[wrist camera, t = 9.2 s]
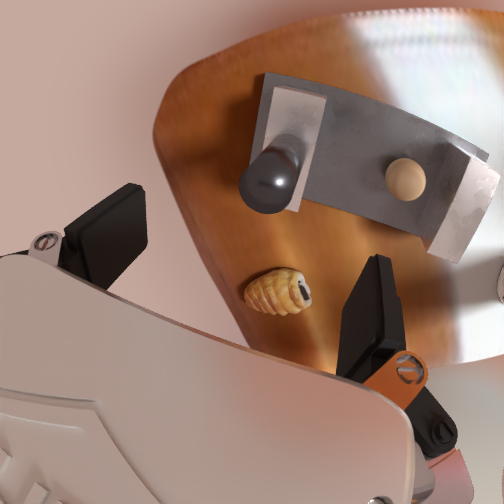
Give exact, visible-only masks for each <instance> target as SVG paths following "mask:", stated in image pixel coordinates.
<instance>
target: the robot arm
mask: <svg viewBox="0 0 504 504" xmlns="http://www.w3.org/2000/svg"><path fill="white" fill-rule="evenodd" d="M64 232H65V236H64V237H63V238H62V235H61V234H60V233H59V232H56V231H48V232H44V233H42V234H40V235H38V236H37V237H36V238H35V239H34V240H33V241H32V243H31V246H30V249H29V250H25V251H21V252H17V253H12V254H8V255H4V256H0V504H471V502H472V500H473V497H474V488H473V484H472V481H471V479H470V475H469V473H468V470H467V467H466V465H465V462H464V459H463V456H462V454H461V451H460V449H458V450H456V449H455V444H456V442H457V437H458V435H457V428H456V425H455V423H454V421H453V420H452V419H451V417H449V415H448V414H447V412H446V411H445V410H444V409H443V408H442V406H441V405H440V404H439V403H438V401H437V400H436V399H435V398H434V396H433V395H432V394H431V393H430V392H429V390H428V389H427V388H426V387H425V386H424V385H425V384H426V382H427V380H428V370H427V367H426V365H425V362H424V361H423V360H422V359H421V357H419V356H418V355H417V354H415V353H413V352H411V351H406V341H405V331H404V322H403V314H402V307H401V300H400V298H399V297H398V296H397V295H396V288H395V282H394V276H393V270H392V264H391V259H390V258H388V257H385V256H382V255H379V254H376V255H375V256H374V257H373V256H370V257H369V259H368V261H367V263H366V265H365V267H364V269H363V271H362V273H361V275H360V277H359V279H358V281H357V283H356V284H355V286H354V288H353V290H352V292H351V294H350V296H349V298H348V300H347V301H346V303H345V305H344V308H343V311H342V321H341V332H340V342H339V352H338V360H337V368H336V375H334V374H331V373H327V372H324V371H321V370H317V369H314V368H310V367H307V366H303V365H300V364H297V363H294V362H290V361H287V360H284V359H281V358H278V357H275V356H271V355H268V354H265V353H262V352H259V351H256V350H253V349H250V348H247V347H243V346H241V345H238V344H235V343H232V342H230V341H227V340H224V339H221V338H219V337H216V336H213V335H210V334H208V333H205V332H202V331H200V330H197V329H195V328H192V327H189V326H187V325H184V324H182V323H179V322H177V321H174V320H172V319H169V318H167V317H165V316H162V315H160V314H158V313H155V312H153V311H151V310H148V309H146V308H143V307H141V306H139V305H137V304H134V303H132V302H130V301H128V300H125V299H123V298H121V297H119V296H117V295H115V294H112V293H110V292H108V291H106V290H107V289H108V288H109V287H110V286H111V285H112V284H113V283H114V281H115V280H116V279H117V278H118V277H119V276H120V275H121V274H122V273H123V272H124V270H126V268H127V267H128V266H129V265H130V264H131V263H132V262H133V261H134V260H135V259H136V258H137V257H138V256H139V255H140V254H141V253H142V252H143V251H144V250H145V248H146V247H147V243H148V240H147V239H148V238H147V222H146V202H145V191H144V190H143V188H142V186H141V185H137V184H132V183H128V184H126V185H124V186H123V187H121V188H120V189H118V190H117V191H115V192H114V193H112V194H111V195H109V196H108V197H106V198H105V199H104V200H102V201H101V202H99V203H98V204H96V205H95V206H94V207H92V208H91V209H89V210H88V211H87V212H85V213H84V214H82V215H81V216H80V217H78V218H77V219H76V220H74V221H73V222H72V223H70V224H69V225H68V226H67V227H65V228H64ZM497 290H498V295H499V297H500V299H501V301H502V303H503V304H504V266H503V268H502V270H501V273H500V276H499V280H498V288H497ZM502 496H503V504H504V469H503V475H502Z"/></svg>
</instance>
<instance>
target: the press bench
mask: <svg viewBox="0 0 504 504" xmlns="http://www.w3.org/2000/svg"><path fill="white" fill-rule="evenodd" d="M278 86H289V87H293V88H298V89H302V90H307V91H311V92H315V93H319V94H322V95H326V96H327V100H326V104H325V108H324V113H323V117H322V121H321V125H320V129H319V133H318V137H317V141H316V145H315V149H314V153H313V157H312V161H311V165H310V168H309V172H308V176H307V180H306V184H305V187H304V191H303V195H302V198H304V199H307V200H311V201H314V202H318V203H321V204H324V205H328V206H331V207H334V208H337V209H341V210H344V211H347V212H350V213H353V214H356V215H359V216H362V217H365V218H369V219H372V220H374V221H377V222H380V223H383V224H386V225H389V226H392V227H395V228H398V229H400V230H403V231H406V232H409V233H411V234H414V235H417V236H420V237H421V239H422V242H423V244H424V247H425V249H426V252H427V253H430V254H432V255H435V256H438V257H440V258H443V259H446V260H448V261H451V262H454V263H456V264H457V263H458V261H459V260H460V258H461V256H462V255H463V253H464V251H465V250H466V248H467V246H468V244H469V243H470V241H471V239H472V237H473V235H474V234H475V232H476V230H477V228H478V226H479V224H480V222H481V220H482V218H483V216H484V214H485V212H486V210H487V208H488V206H489V204H490V202H491V200H492V197H493V195H494V193H495V191H496V188H497V186H498V184H499V181H500V179H501V175H500V174H499V173H498V172H496V171H495V170H494V169H492V168H491V167H490V166H489V165H487V164H486V161H487V159H488V156H489V154H488V153H486V152H485V151H483V150H481V149H480V148H478V147H476V146H475V145H473V144H471V143H469V142H468V141H466V140H464V139H462V138H460V137H458V136H457V135H455V134H453V133H451V132H449V131H447V130H445V129H443V128H441V127H439V126H437V125H435V124H433V123H431V122H428V121H426V120H424V119H422V118H420V117H417V116H415V115H413V114H410V113H408V112H406V111H403V110H401V109H398V108H396V107H393V106H390V105H388V104H385V103H382V102H380V101H377V100H374V99H371V98H368V97H365V96H362V95H359V94H356V93H353V92H350V91H347V90H343V89H340V88H336V87H333V86H329V85H325V84H322V83H318V82H314V81H309V80H305V79H301V78H296V77H292V76H287V75H282V74H276V73H271V72H266V73H265V78H264V83H263V89H262V95H261V100H260V106H259V111H258V117H257V123H256V129H255V134H254V140H253V146H252V152H251V158H250V164H251V163H252V162H253V161H254V160H255V159H256V158H257V157H258V156H259V154H260V153H261V152H262V150H263V144H264V139H265V134H266V128H267V123H268V118H269V112H270V107H271V102H272V96H273V91H274V87H278ZM401 158H408V159H411V160H413V161H415V162H417V163H418V164H419V165H420V166H421V168H422V169H423V171H424V174H425V178H426V185H425V188H424V191H423V192H422V194H421V195H420V196H419V197H418V198H416V199H414V200H411V201H402V200H399V199H397V198H396V197H394V196H393V195H392V194H391V193H390V191H389V190H388V188H387V185H386V181H385V175H386V171H387V169H388V167H389V165H390V164H391V163H392V162H394V161H395V160H397V159H401ZM250 164H249V166H250Z"/></svg>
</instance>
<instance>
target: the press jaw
mask: <svg viewBox="0 0 504 504" xmlns="http://www.w3.org/2000/svg"><path fill="white" fill-rule="evenodd" d="M326 100H327V96H326V95H322V94H319V93H315V92H311V91H307V90H302V89H298V88H293V87H289V86H278V87H274V91H273V96H272V102H271V107H270V112H269V118H268V123H267V128H266V134H265V139H264V144H263V150H262V152H261V153H260V154H259V156H258V157H257V158H256V159H255V160H254V161H253V162H252V163H251V164H250V166H249V167H248V168H247V169H246V170H245V171H244V172H243V174H242V175H241V178H240V181H239V192H240V195H241V197H242V199H243V201H244V202H245V203H246V204H247V205H248V206H249V207H250V208H251V209H253V210H254V211H257V212H259V213H263V214H274V213H278V212H280V211H282V210H283V209H288V210H291V211H295V212H298V209H299V206H300V202H301V198H302V195H303V191H304V187H305V184H306V180H307V176H308V172H309V168H310V165H311V161H312V157H313V153H314V149H315V145H316V141H317V137H318V133H319V129H320V125H321V121H322V117H323V113H324V108H325V104H326Z"/></svg>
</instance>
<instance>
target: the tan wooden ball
mask: <svg viewBox="0 0 504 504" xmlns="http://www.w3.org/2000/svg"><path fill="white" fill-rule="evenodd" d="M385 181H386V185H387V188H388V190H389V191H390V193H391V194H392V195H393V196H394V197H396V198H397V199H399V200H402V201H411V200H414V199H416V198H418V197H419V196H420V195H421V194H422V192H423V191H424V188H425V185H426V178H425V174H424V171H423V169H422V168H421V166H420V165H419V164H418V163H417V162H415V161H413V160H411V159H408V158H401V159H397V160H395V161H394V162H392V163H391V164H390V165H389V167H388V169H387V171H386V175H385Z"/></svg>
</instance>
